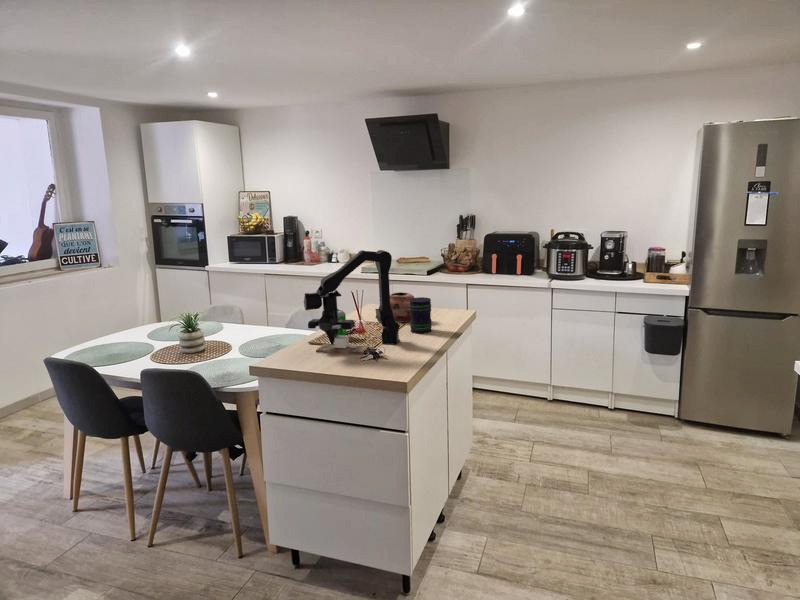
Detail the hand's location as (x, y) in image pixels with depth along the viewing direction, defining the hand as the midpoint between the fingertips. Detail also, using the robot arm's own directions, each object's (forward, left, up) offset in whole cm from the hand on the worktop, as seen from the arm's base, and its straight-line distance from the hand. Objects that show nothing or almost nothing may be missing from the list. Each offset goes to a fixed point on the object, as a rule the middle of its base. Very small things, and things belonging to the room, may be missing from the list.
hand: (332, 344), depth 230 cm
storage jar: (-30, -34, -3) cm, 46 cm away
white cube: (-4, 0, -1) cm, 4 cm away
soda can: (+5, -19, -3) cm, 20 cm away
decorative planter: (-15, -53, -3) cm, 55 cm away
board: (-4, 0, -2) cm, 5 cm away
